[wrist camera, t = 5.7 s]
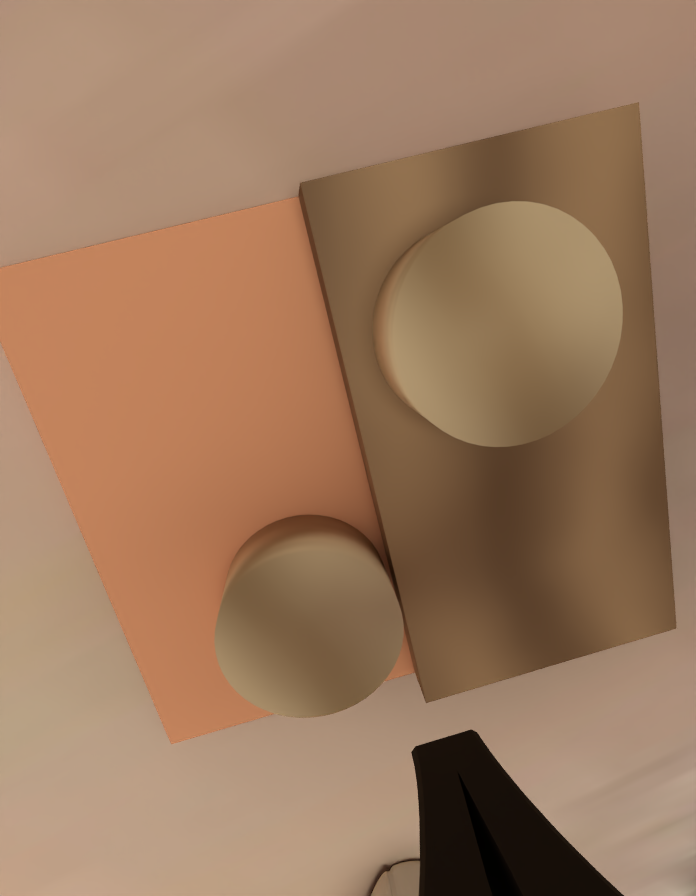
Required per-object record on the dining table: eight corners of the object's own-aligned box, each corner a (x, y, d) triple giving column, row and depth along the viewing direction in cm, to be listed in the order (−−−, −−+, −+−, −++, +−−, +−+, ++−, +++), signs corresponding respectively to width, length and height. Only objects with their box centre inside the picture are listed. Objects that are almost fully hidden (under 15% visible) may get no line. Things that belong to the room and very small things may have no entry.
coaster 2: (504, 179, 15) (558, 146, 12) (592, 353, 16) (658, 361, 14) (333, 300, 15) (345, 297, 12) (437, 459, 17) (470, 489, 14)
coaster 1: (324, 482, 18) (331, 513, 15) (416, 599, 20) (438, 647, 17) (190, 579, 19) (173, 628, 16) (292, 686, 20) (293, 748, 17)
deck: (597, 126, 17) (638, 102, 15) (641, 600, 22) (676, 628, 20) (298, 198, 16) (300, 182, 14) (413, 667, 21) (426, 703, 19)
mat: (298, 198, 16) (298, 196, 16) (413, 667, 21) (414, 672, 21) (-23, 275, 16) (-28, 274, 15) (172, 738, 20) (171, 744, 20)
